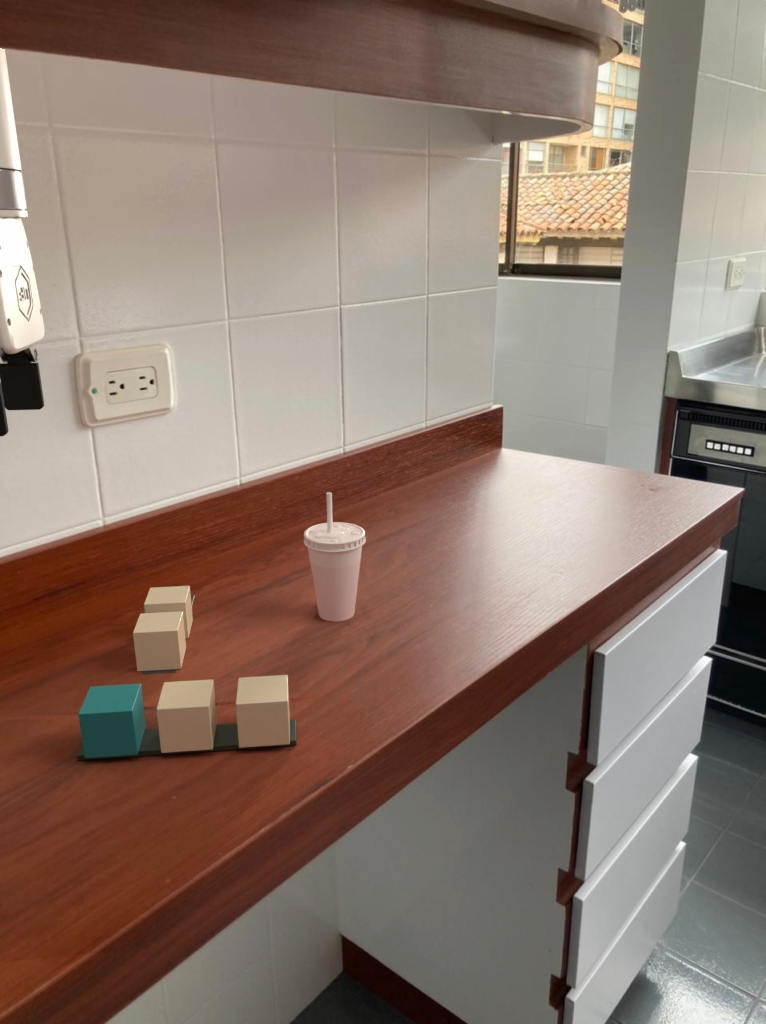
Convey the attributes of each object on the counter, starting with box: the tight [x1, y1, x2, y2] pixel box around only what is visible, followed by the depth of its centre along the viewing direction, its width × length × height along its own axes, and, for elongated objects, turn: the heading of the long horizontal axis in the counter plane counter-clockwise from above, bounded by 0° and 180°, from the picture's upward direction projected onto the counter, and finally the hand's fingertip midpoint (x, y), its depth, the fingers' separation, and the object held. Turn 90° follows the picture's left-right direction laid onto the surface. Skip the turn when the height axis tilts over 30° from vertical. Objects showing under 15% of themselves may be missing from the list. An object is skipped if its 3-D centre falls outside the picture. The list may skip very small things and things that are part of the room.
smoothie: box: [303, 491, 367, 622], centre depth 85 cm, size 6×6×14 cm
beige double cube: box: [132, 585, 195, 675], centre depth 82 cm, size 4×17×4 cm, turn 6°
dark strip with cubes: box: [76, 674, 297, 762], centre depth 65 cm, size 17×4×4 cm, turn 96°
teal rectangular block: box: [77, 683, 147, 758], centre depth 64 cm, size 4×4×4 cm
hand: (7, 421), depth 67 cm, fingers open, 9 cm apart
